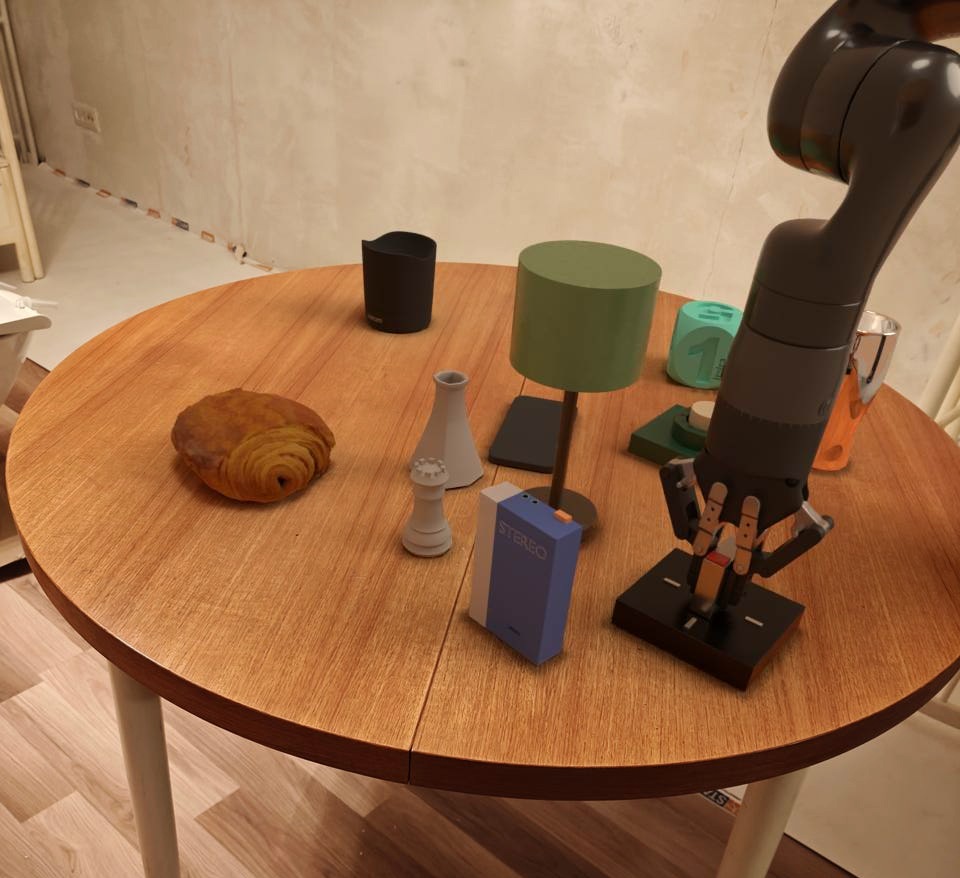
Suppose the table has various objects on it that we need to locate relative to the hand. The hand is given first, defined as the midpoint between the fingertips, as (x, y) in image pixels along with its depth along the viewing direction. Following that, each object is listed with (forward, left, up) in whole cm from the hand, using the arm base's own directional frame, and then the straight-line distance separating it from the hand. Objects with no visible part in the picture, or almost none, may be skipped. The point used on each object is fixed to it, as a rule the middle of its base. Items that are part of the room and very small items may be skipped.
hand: (712, 596), depth 70 cm
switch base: (+14, -26, -3) cm, 30 cm away
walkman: (+11, +11, -3) cm, 16 cm away
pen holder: (+61, -30, -3) cm, 68 cm away
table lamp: (+18, -4, -3) cm, 19 cm away
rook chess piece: (+24, +7, -3) cm, 25 cm away
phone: (+29, -17, -3) cm, 34 cm away
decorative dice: (+24, -45, -3) cm, 51 cm away
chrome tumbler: (+4, -35, -3) cm, 36 cm away
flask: (+31, -4, -3) cm, 31 cm away
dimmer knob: (0, 0, -1) cm, 1 cm away
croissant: (+45, +8, -3) cm, 46 cm away
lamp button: (+14, -26, 0) cm, 30 cm away
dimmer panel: (0, 0, -3) cm, 3 cm away
